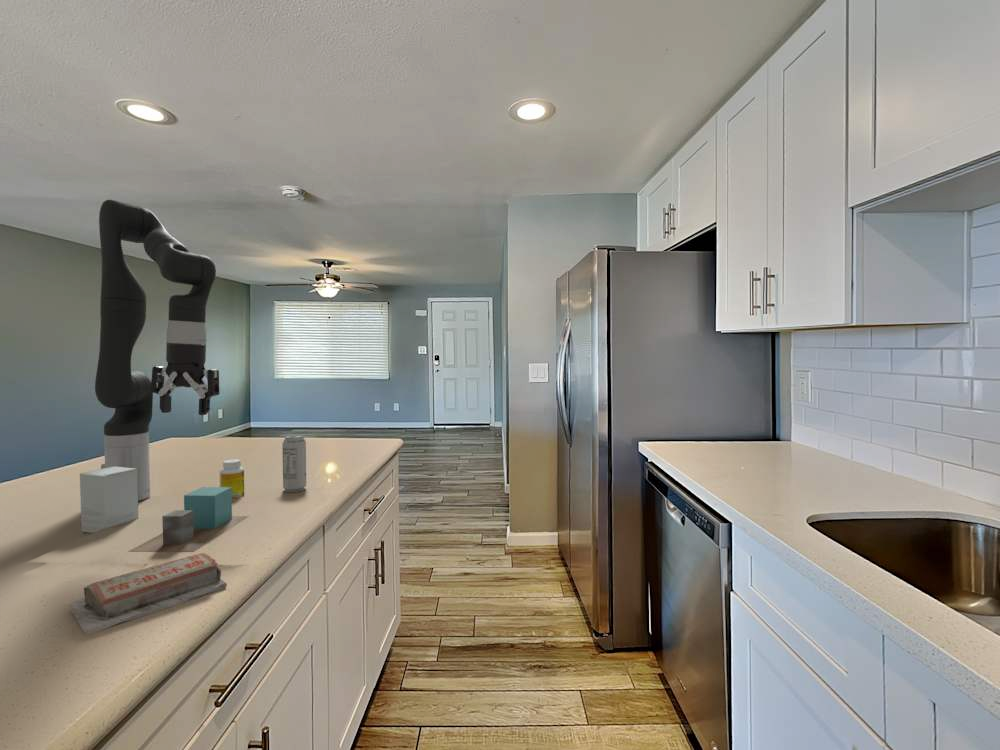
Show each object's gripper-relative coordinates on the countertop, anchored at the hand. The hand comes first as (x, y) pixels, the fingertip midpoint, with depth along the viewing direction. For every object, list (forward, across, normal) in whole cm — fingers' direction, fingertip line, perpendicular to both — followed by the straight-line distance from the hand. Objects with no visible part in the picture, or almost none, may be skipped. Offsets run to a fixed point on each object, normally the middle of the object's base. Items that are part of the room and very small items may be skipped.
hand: (184, 413), depth 112 cm
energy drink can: (+24, +15, +26) cm, 38 cm away
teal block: (+22, +10, -7) cm, 26 cm away
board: (+24, +11, -12) cm, 29 cm away
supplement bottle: (+24, +3, +15) cm, 29 cm away
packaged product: (+24, +20, -36) cm, 48 cm away
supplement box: (+25, -12, -6) cm, 28 cm away
